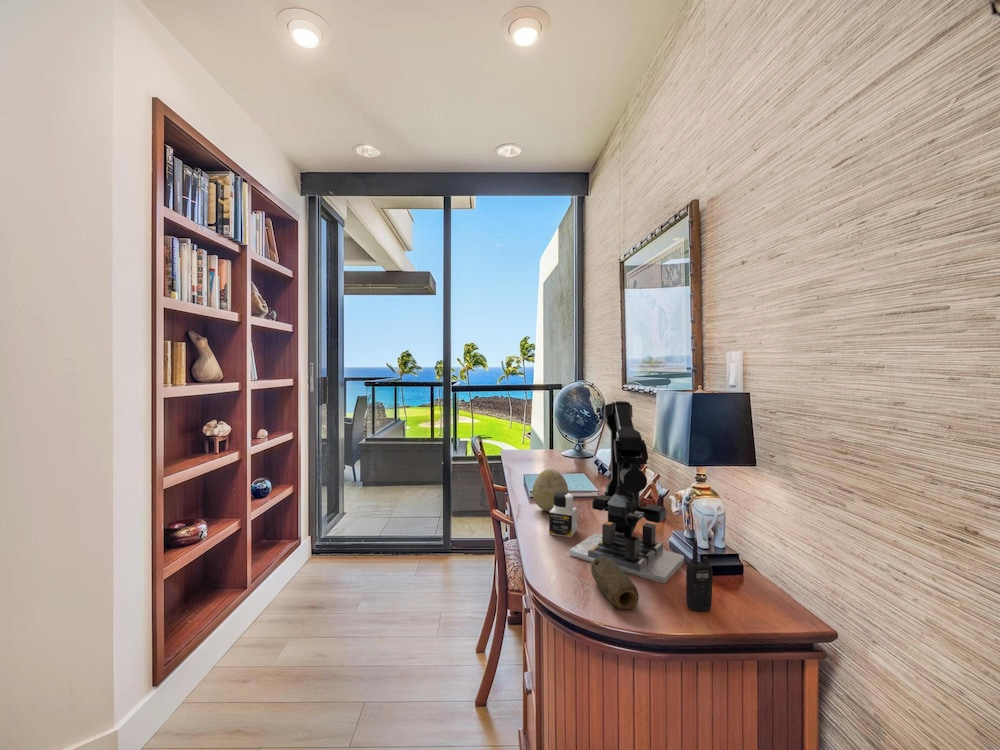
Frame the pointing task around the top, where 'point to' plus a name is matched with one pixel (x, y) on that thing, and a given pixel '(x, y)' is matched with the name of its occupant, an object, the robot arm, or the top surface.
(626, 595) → the stone weight
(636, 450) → the robot arm
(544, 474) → the fossilized egg
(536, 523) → the top surface
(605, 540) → the block
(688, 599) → the two-way radio
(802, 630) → the top surface
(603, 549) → the breaker panel
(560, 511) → the medicine bottle
